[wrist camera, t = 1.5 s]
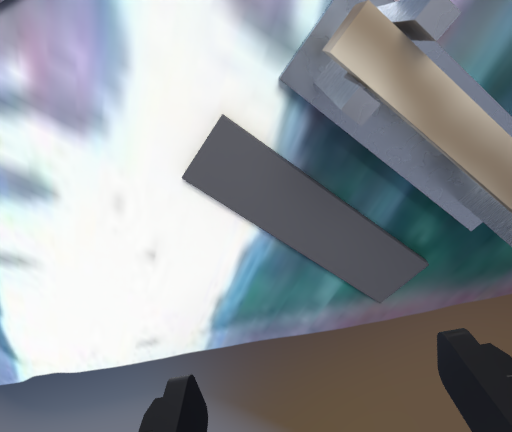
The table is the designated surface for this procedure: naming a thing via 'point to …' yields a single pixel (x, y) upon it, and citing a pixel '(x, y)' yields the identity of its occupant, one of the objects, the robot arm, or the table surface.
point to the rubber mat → (300, 211)
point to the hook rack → (389, 123)
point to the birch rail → (424, 97)
